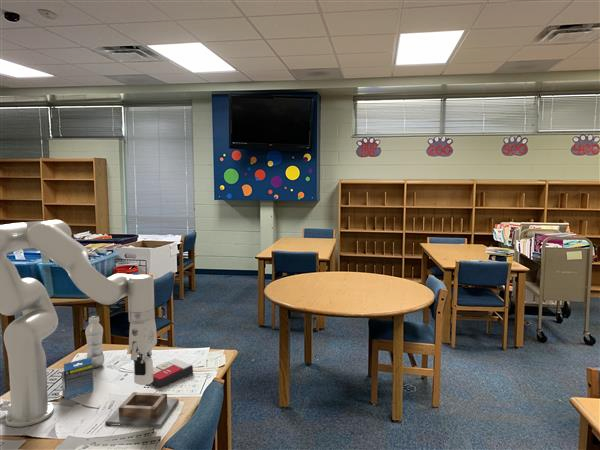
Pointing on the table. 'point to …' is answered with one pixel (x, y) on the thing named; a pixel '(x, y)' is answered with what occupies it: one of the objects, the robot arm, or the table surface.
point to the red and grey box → (170, 372)
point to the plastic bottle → (94, 341)
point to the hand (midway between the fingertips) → (143, 371)
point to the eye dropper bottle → (148, 376)
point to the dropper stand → (143, 410)
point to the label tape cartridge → (77, 378)
